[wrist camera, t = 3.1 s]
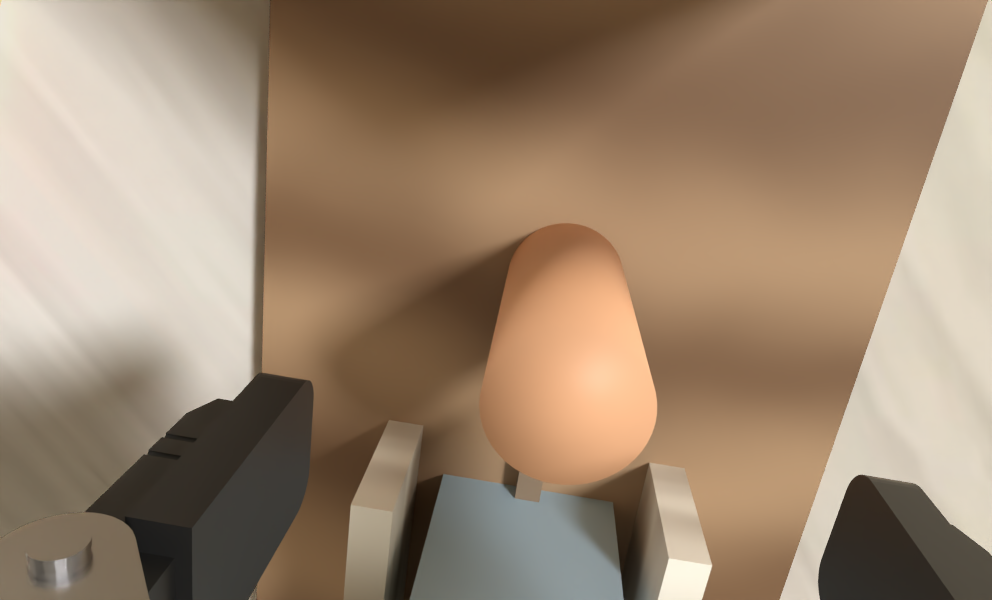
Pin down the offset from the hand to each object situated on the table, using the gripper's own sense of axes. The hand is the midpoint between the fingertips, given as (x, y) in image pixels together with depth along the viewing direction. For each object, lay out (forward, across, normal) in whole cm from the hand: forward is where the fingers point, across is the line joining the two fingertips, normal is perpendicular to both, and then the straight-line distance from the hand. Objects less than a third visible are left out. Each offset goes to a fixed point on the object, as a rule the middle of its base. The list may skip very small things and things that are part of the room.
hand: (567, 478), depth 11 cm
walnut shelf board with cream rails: (+10, 0, +1) cm, 10 cm away
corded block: (+9, 0, +5) cm, 10 cm away
